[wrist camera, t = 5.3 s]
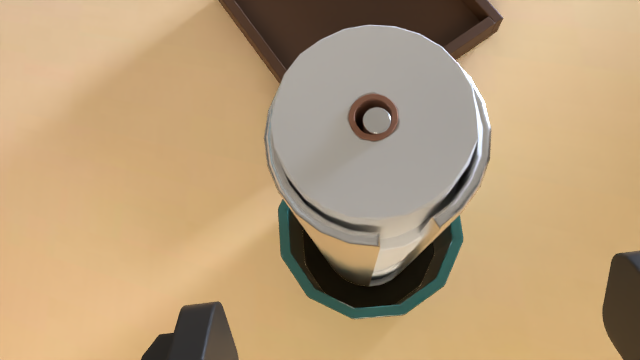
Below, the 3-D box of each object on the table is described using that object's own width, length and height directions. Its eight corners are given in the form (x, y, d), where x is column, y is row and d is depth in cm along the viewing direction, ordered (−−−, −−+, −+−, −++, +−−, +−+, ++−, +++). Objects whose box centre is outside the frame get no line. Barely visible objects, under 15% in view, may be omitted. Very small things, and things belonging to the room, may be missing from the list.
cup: (383, 145, 40) (388, 105, 32) (471, 259, 37) (499, 245, 29) (268, 224, 39) (245, 203, 31) (350, 346, 36) (346, 356, 28)
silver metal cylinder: (313, 274, 38) (226, 208, 13) (335, 189, 39) (291, -7, 15) (401, 296, 37) (477, 270, 12) (420, 209, 38) (521, 34, 14)
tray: (374, -104, 45) (375, -123, 43) (497, 31, 41) (504, 17, 39) (216, -3, 44) (210, -17, 42) (326, 147, 40) (325, 139, 38)
